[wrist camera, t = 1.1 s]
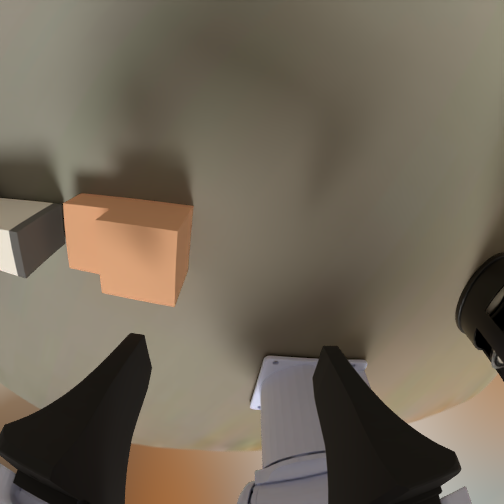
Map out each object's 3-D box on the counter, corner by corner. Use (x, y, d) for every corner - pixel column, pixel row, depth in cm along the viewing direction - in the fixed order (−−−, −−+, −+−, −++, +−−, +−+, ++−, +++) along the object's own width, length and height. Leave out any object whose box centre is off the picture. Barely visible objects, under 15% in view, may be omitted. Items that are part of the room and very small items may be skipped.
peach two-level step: (194, 205, 17) (177, 231, 13) (188, 268, 19) (174, 307, 15) (82, 192, 16) (46, 213, 13) (86, 251, 18) (56, 281, 15)
